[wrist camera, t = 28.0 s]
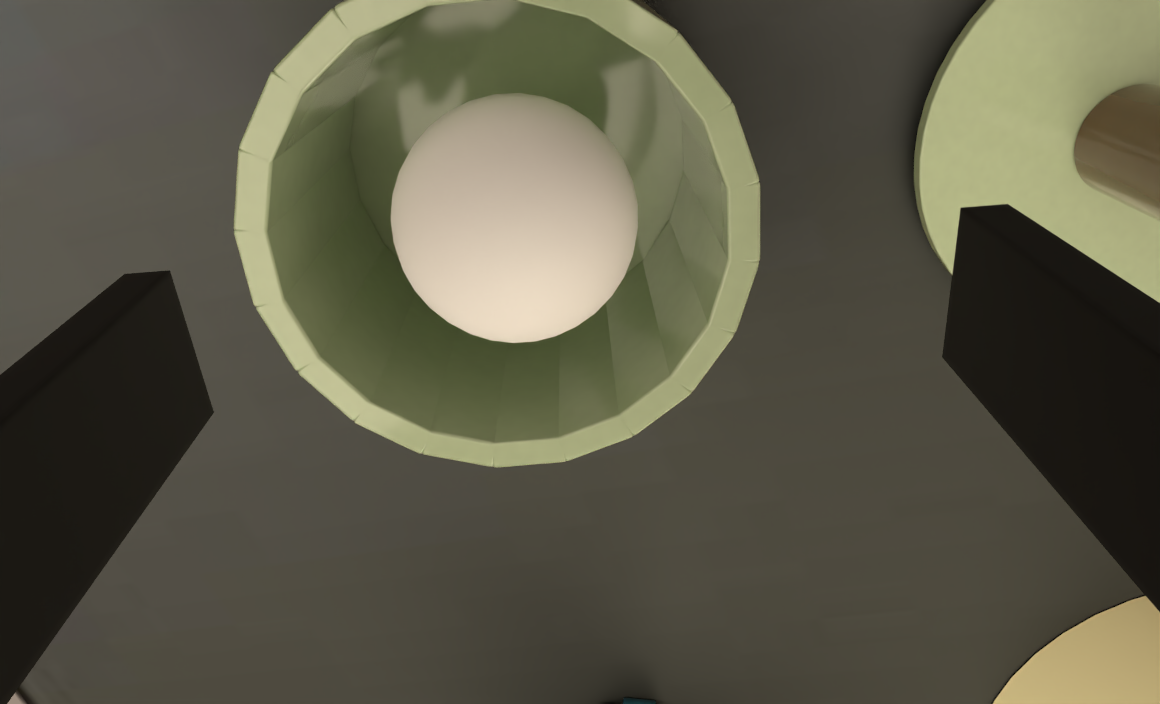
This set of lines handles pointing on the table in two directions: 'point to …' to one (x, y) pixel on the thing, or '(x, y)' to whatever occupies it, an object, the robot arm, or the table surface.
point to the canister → (371, 264)
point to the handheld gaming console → (638, 701)
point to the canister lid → (1050, 129)
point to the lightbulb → (514, 217)
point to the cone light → (1096, 662)
